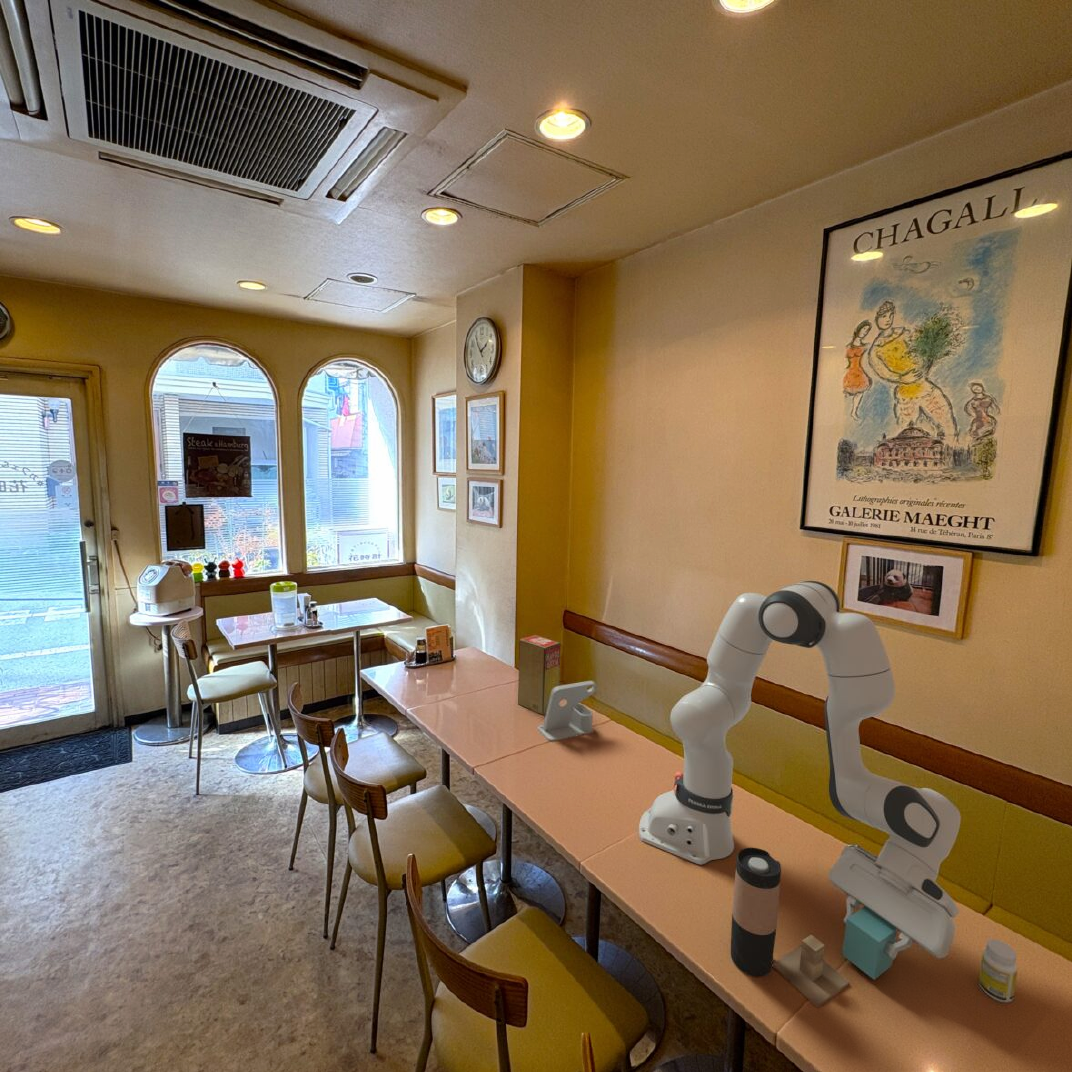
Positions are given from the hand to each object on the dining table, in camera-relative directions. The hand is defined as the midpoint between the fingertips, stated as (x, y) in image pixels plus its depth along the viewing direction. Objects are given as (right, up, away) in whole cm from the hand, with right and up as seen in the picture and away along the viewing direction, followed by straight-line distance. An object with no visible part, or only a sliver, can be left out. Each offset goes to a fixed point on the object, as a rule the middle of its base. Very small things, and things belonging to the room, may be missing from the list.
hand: (867, 940), depth 103 cm
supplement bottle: (+21, -7, -3) cm, 22 cm away
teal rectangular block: (0, -4, +1) cm, 4 cm away
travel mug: (-20, -5, +2) cm, 21 cm away
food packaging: (-59, +10, +107) cm, 123 cm away
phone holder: (-50, +7, +89) cm, 102 cm away
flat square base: (-11, -6, -1) cm, 12 cm away
